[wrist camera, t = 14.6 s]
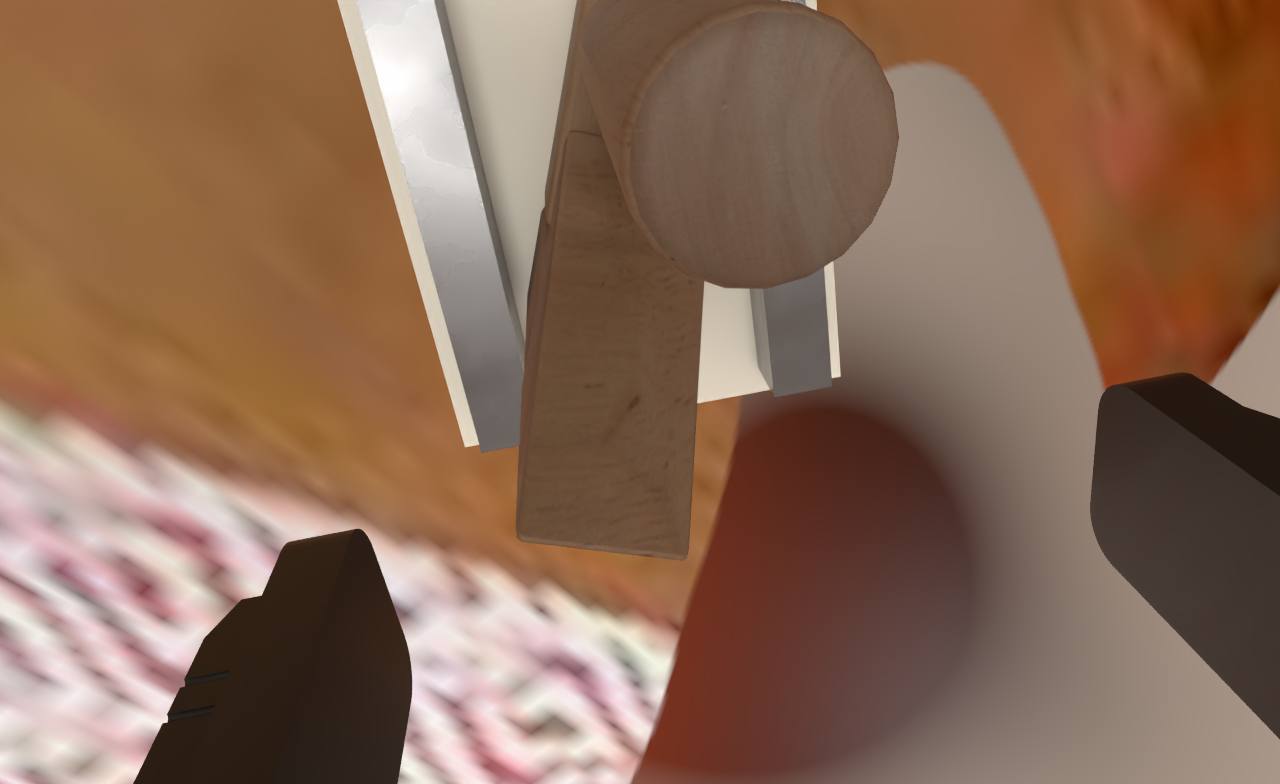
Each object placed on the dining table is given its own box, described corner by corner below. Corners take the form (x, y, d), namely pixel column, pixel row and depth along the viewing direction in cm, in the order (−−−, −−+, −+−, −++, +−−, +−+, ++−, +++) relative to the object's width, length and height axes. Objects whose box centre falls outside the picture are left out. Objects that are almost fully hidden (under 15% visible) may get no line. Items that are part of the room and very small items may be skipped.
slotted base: (468, 428, 34) (459, 483, 30) (306, -149, 25) (267, -167, 22) (828, 360, 34) (862, 406, 30) (787, -233, 26) (826, -265, 22)
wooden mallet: (525, 301, 30) (507, 687, 14) (582, -44, 26) (650, -51, 10) (630, 318, 31) (727, 707, 15) (704, -15, 27) (956, 23, 10)
